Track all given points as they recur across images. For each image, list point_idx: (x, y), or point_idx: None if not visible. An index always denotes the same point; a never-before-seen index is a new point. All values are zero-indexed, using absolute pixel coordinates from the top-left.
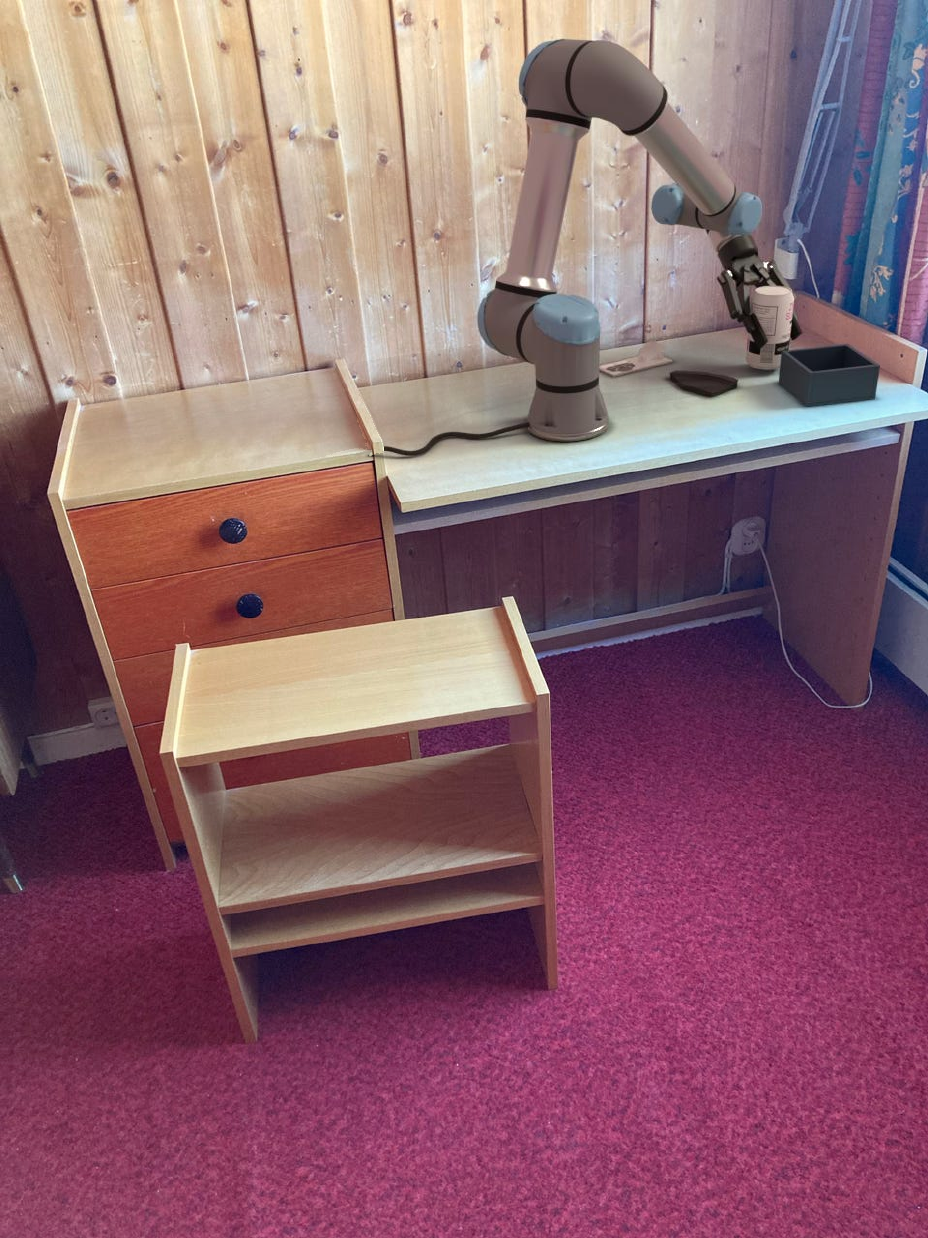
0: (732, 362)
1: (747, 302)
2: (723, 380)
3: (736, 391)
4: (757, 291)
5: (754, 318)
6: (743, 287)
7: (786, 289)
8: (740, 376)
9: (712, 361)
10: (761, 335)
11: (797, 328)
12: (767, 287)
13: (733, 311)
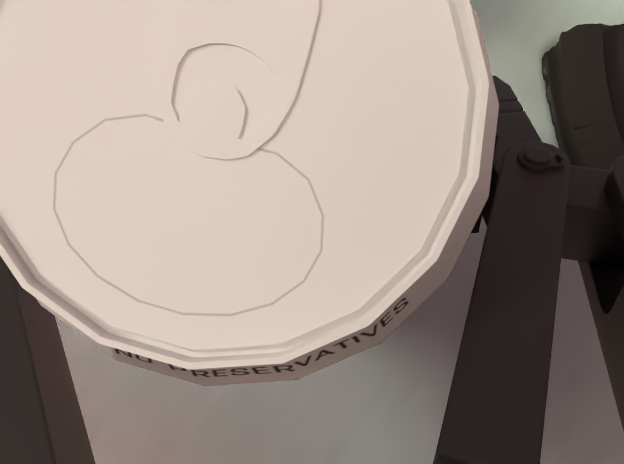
0: (352, 368)
1: (519, 236)
2: (609, 92)
3: (575, 13)
4: (420, 220)
5: None
6: (540, 435)
7: (5, 73)
8: None
9: (427, 436)
10: None
11: None
12: (165, 323)
13: (620, 280)
